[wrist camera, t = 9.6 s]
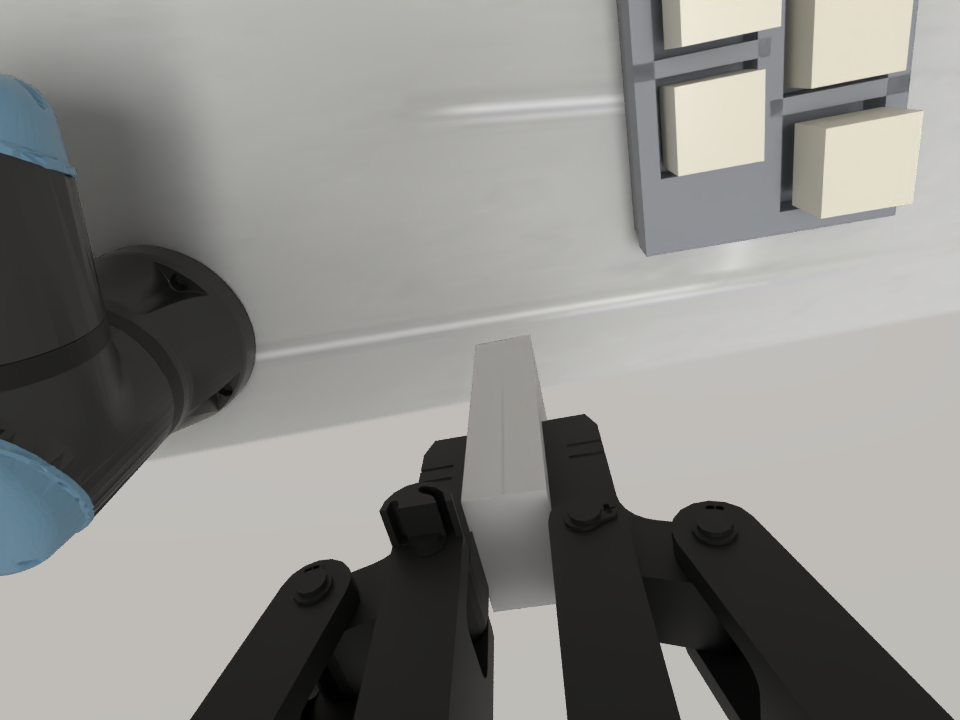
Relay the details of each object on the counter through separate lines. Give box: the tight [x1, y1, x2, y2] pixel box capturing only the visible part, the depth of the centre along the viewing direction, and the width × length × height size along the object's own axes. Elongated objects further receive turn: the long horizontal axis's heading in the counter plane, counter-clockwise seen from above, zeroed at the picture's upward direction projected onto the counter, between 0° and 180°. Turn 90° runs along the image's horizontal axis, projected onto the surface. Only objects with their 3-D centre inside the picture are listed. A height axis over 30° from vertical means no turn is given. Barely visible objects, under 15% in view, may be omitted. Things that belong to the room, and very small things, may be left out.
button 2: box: [659, 69, 766, 177], centre depth 36 cm, size 5×5×4 cm
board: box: [617, 0, 919, 256], centre depth 36 cm, size 16×25×5 cm, turn 11°
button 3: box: [783, 0, 913, 89], centre depth 34 cm, size 5×5×4 cm
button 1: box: [792, 107, 924, 219], centre depth 35 cm, size 5×5×4 cm
